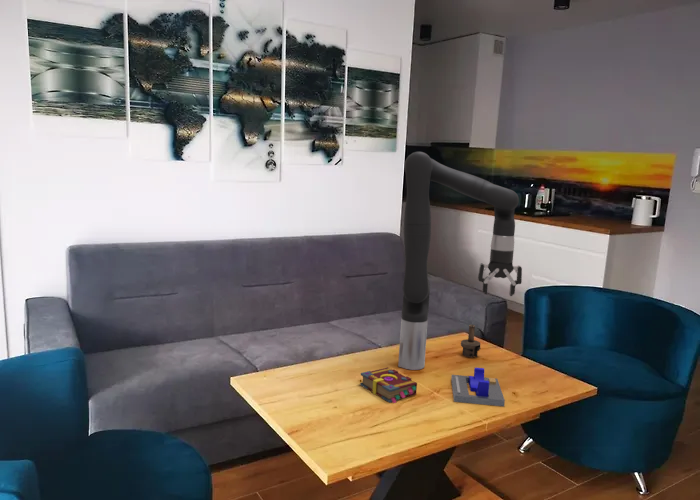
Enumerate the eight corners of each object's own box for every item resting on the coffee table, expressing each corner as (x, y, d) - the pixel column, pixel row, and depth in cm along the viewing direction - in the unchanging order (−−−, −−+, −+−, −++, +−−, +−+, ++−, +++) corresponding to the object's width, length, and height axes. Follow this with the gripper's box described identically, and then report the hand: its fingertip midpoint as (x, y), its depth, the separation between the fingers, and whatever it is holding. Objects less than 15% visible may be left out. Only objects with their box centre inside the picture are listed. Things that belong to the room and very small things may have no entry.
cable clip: (468, 384, 183) (469, 367, 182) (482, 385, 182) (483, 368, 181) (472, 399, 171) (474, 381, 170) (487, 401, 170) (489, 382, 169)
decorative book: (387, 379, 184) (388, 365, 183) (419, 397, 171) (420, 382, 170) (359, 386, 178) (360, 371, 177) (391, 405, 165) (392, 389, 164)
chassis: (454, 401, 168) (454, 393, 168) (451, 380, 185) (451, 372, 185) (504, 406, 167) (504, 398, 166) (496, 384, 183) (497, 376, 183)
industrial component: (484, 357, 209) (486, 326, 207) (471, 360, 204) (474, 329, 202) (464, 349, 216) (467, 320, 214) (452, 353, 212) (454, 323, 210)
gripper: (482, 248, 184) (478, 295, 186) (525, 251, 182) (521, 298, 184) (479, 245, 191) (476, 290, 193) (521, 247, 189) (517, 293, 192)
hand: (498, 294), depth 189 cm, fingers open, 8 cm apart
